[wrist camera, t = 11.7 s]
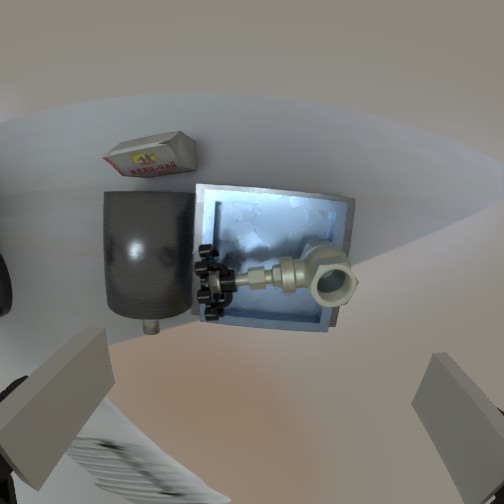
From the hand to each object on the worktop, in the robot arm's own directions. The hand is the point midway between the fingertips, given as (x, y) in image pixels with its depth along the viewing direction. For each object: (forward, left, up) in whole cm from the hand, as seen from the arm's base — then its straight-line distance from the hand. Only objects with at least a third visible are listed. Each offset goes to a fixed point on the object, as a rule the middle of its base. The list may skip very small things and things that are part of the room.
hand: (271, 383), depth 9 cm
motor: (-5, -1, -24) cm, 25 cm away
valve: (+1, 0, -17) cm, 17 cm away
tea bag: (-13, +10, -25) cm, 30 cm away
